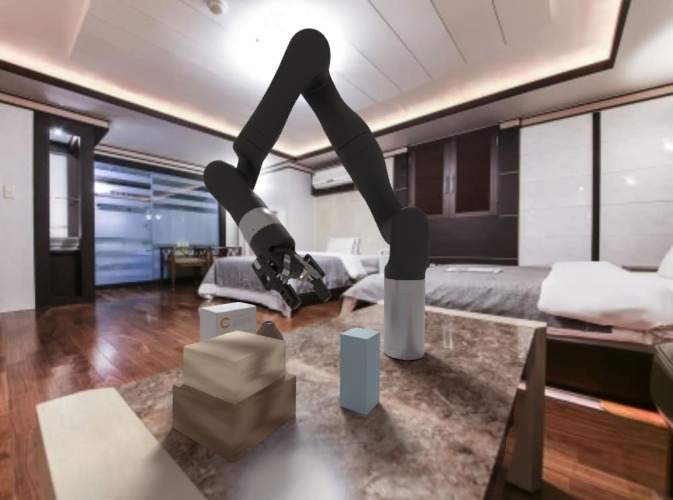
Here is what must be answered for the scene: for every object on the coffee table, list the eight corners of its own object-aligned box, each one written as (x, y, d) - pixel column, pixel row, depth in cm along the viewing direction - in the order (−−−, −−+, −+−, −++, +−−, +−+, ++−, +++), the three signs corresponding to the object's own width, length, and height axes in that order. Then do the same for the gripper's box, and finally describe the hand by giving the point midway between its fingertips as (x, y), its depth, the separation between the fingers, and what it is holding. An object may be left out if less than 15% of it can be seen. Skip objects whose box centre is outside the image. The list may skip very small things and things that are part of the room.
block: (354, 393, 48) (354, 327, 48) (379, 401, 46) (380, 331, 46) (339, 406, 45) (340, 333, 44) (366, 415, 42) (367, 339, 42)
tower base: (239, 394, 48) (239, 358, 48) (295, 417, 42) (296, 375, 42) (172, 429, 39) (172, 384, 39) (231, 465, 33) (232, 411, 33)
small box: (238, 365, 60) (239, 301, 60) (256, 374, 56) (257, 305, 55) (198, 378, 53) (199, 307, 53) (215, 389, 49) (216, 312, 49)
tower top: (237, 361, 47) (237, 330, 47) (285, 375, 42) (285, 340, 42) (183, 383, 39) (183, 346, 39) (234, 404, 34) (234, 361, 34)
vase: (276, 372, 56) (277, 327, 56) (243, 369, 57) (244, 325, 57) (289, 359, 63) (290, 318, 63) (259, 356, 64) (260, 317, 64)
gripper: (246, 218, 49) (299, 293, 43) (301, 224, 61) (348, 284, 55) (226, 249, 52) (272, 324, 46) (282, 250, 64) (325, 309, 57)
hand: (313, 302), depth 50 cm, fingers open, 8 cm apart
